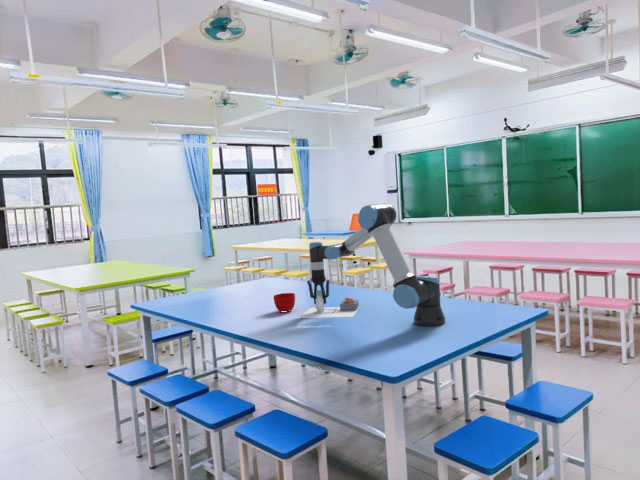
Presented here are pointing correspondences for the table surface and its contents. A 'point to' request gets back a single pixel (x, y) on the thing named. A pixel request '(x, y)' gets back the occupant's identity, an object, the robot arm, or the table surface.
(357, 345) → the table surface
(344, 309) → the button housing
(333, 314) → the sheet
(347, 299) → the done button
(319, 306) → the marker
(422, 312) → the robot arm
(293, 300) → the ceramic cup
